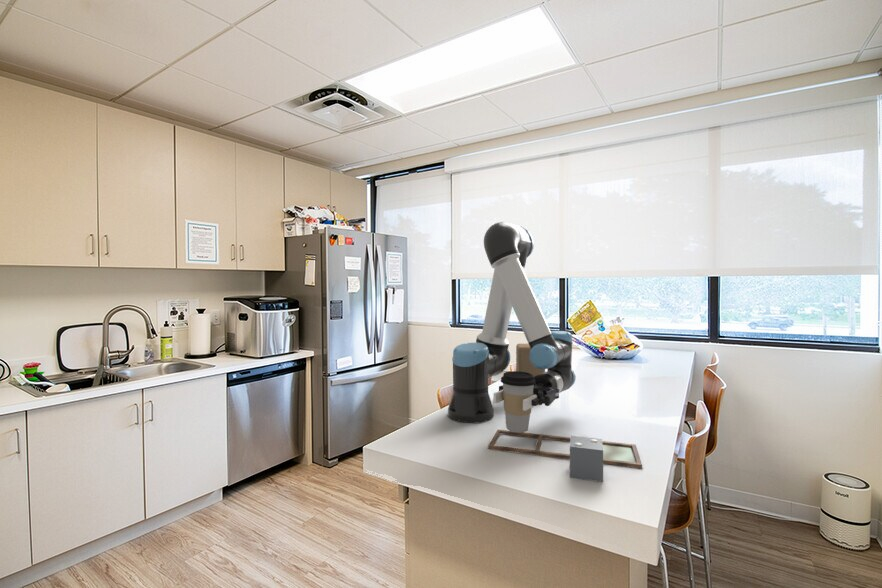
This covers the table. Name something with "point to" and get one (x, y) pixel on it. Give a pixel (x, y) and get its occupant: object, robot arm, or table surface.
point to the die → (586, 458)
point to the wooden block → (525, 360)
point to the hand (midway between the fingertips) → (509, 401)
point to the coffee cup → (517, 399)
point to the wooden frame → (611, 454)
